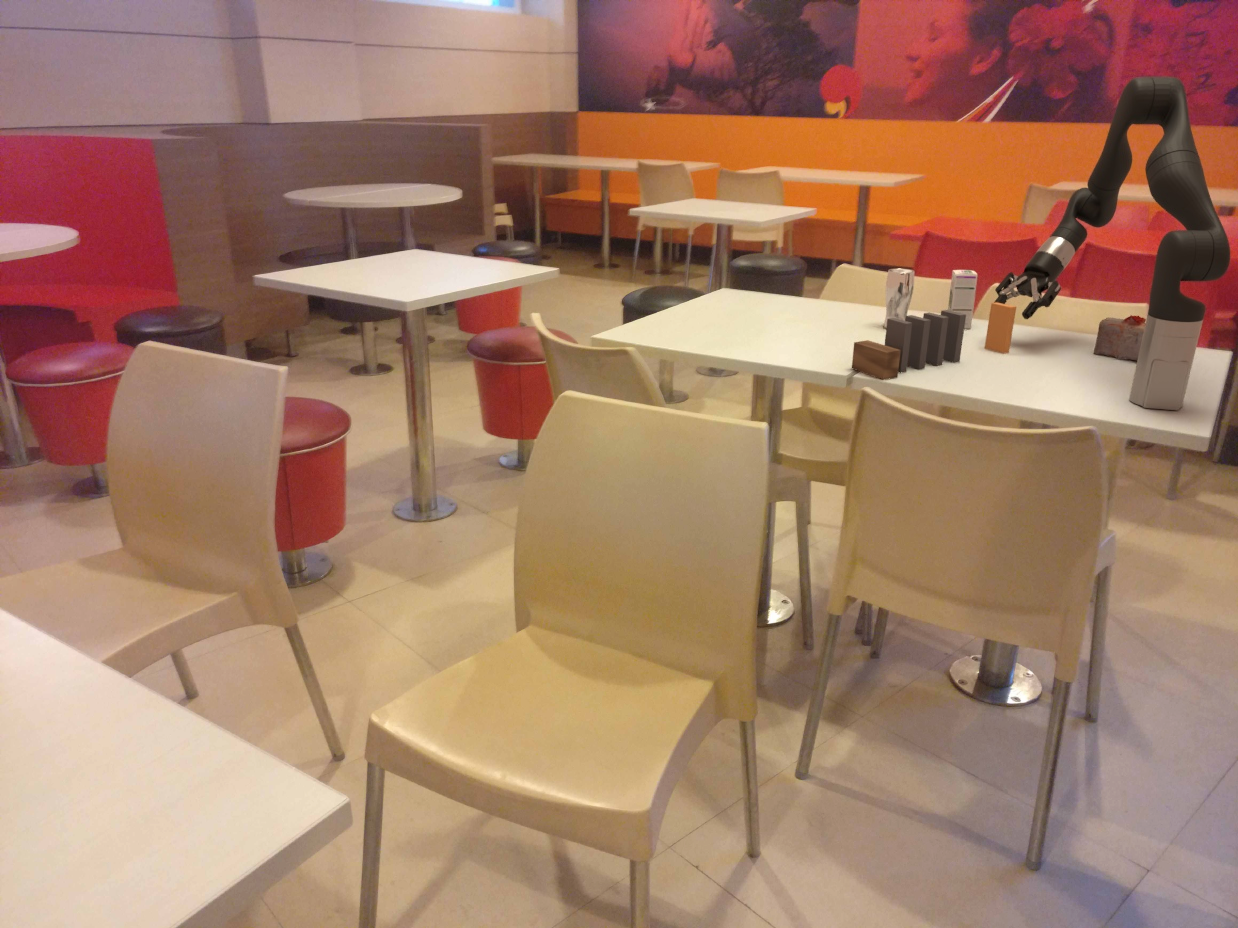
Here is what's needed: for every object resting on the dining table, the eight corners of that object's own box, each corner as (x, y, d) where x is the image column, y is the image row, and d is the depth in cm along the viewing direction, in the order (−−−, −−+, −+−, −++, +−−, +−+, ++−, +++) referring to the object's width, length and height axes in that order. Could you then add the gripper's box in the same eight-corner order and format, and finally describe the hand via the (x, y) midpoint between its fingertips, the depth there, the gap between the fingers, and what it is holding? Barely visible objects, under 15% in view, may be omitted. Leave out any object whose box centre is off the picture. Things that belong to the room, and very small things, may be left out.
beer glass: (878, 329, 236) (884, 271, 230) (884, 323, 241) (890, 267, 236) (905, 332, 233) (912, 274, 227) (911, 326, 238) (917, 269, 233)
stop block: (865, 366, 203) (867, 340, 201) (897, 377, 195) (900, 350, 193) (851, 368, 201) (854, 342, 199) (883, 379, 193) (886, 352, 191)
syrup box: (971, 329, 235) (979, 273, 229) (947, 328, 236) (955, 273, 231) (968, 324, 240) (975, 270, 235) (944, 323, 241) (952, 269, 236)
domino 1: (888, 365, 203) (893, 317, 199) (906, 371, 199) (912, 322, 195) (882, 366, 202) (887, 318, 198) (900, 372, 198) (906, 323, 194)
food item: (1163, 359, 207) (1173, 317, 204) (1152, 366, 202) (1162, 323, 198) (1101, 349, 216) (1109, 308, 213) (1089, 355, 211) (1097, 314, 207)
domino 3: (923, 359, 208) (929, 312, 204) (942, 365, 204) (948, 317, 199) (917, 360, 207) (923, 313, 203) (936, 366, 203) (942, 318, 199)
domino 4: (940, 356, 211) (946, 309, 206) (959, 361, 206) (966, 314, 202) (935, 357, 210) (941, 310, 206) (953, 362, 205) (960, 315, 201)
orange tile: (989, 347, 218) (996, 302, 214) (1008, 352, 213) (1016, 306, 209) (984, 348, 217) (991, 303, 213) (1003, 353, 213) (1011, 307, 208)
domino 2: (906, 362, 206) (911, 315, 202) (924, 368, 201) (930, 320, 197) (900, 363, 205) (905, 316, 201) (918, 369, 200) (924, 320, 196)
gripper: (1019, 246, 217) (978, 298, 217) (1071, 254, 206) (1028, 309, 205) (1030, 266, 222) (990, 317, 221) (1082, 275, 210) (1040, 329, 209)
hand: (1009, 313), depth 213 cm, fingers open, 8 cm apart
